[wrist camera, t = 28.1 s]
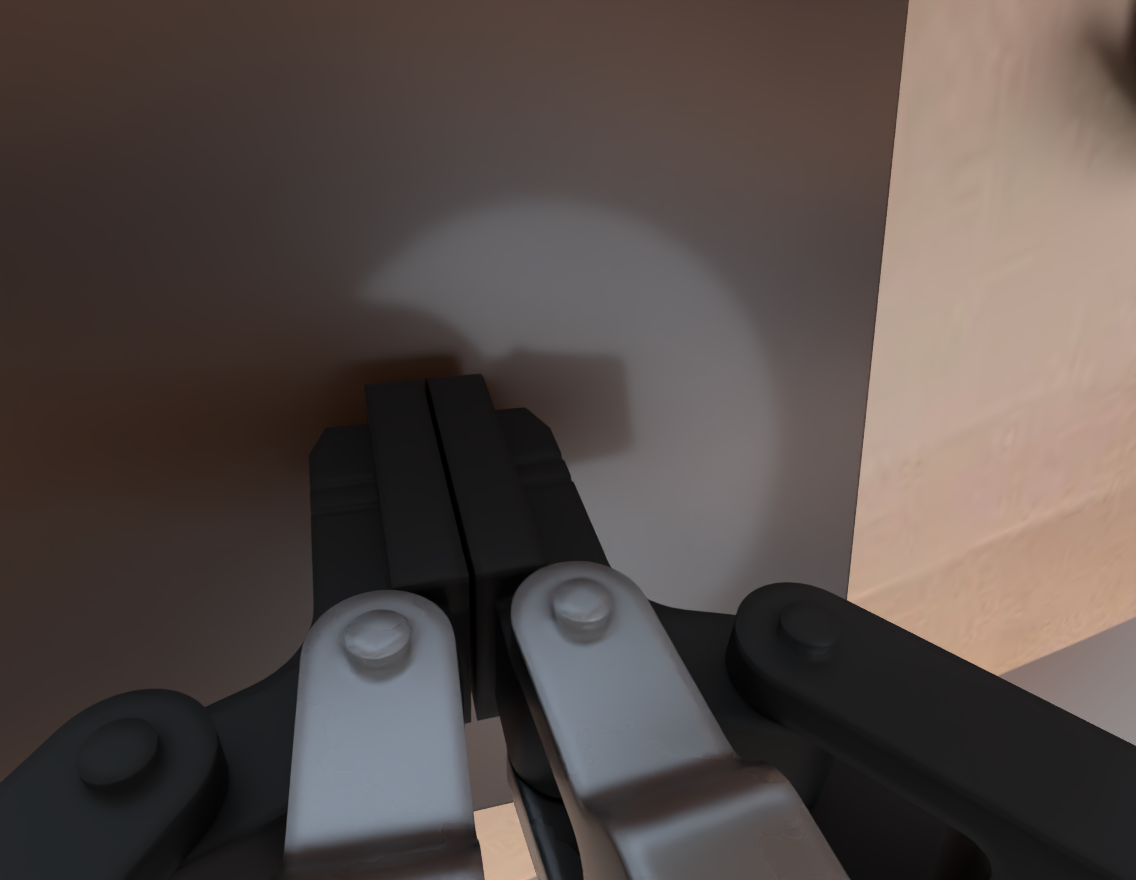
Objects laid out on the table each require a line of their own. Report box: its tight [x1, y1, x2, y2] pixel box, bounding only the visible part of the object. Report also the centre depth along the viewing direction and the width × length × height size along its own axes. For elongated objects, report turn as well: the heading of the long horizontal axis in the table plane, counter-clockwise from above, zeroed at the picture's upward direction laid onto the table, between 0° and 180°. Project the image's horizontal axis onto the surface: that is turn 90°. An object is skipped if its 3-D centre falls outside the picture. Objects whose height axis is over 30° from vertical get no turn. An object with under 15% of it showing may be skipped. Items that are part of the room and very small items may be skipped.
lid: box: [0, 0, 909, 811], centre depth 10 cm, size 18×14×1 cm
